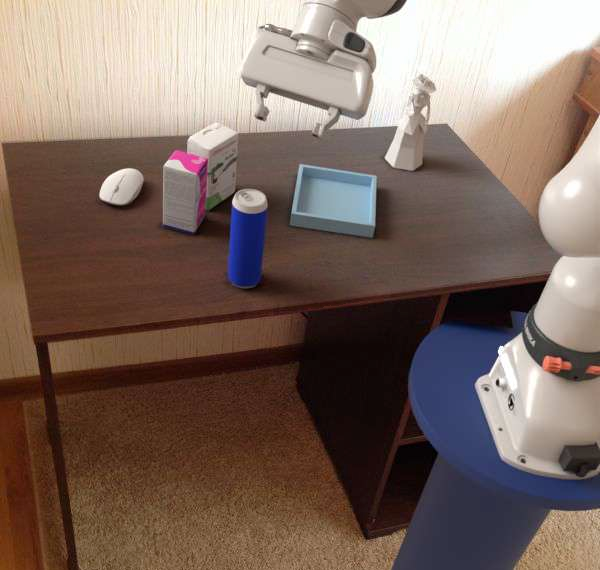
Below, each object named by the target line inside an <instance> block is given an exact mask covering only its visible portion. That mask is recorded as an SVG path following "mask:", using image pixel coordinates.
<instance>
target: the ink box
mask: <svg viewBox="0 0 600 570" xmlns="http://www.w3.org/2000/svg"><path fill="white" fill-rule="evenodd" d="M186 141H187V147H186V148H187V151H186V153H189V154H193V155H197V156H201V157H205V158H208V170H207V187H206V206H205V211H207V212H208V211H210V210H212V209H213V208H214V207H216V206H217V205H219V204H220V203H221V202H223V201H224V200H226V199H227V198H229V197H230V196H231V195H233V194H234V193H236V181H237V180H236V179H237V178H236V177H237V163H238V162H237V160H238V146H239V145H238V144H239V131H236V130H234V129H232V128H230V127H227V126H225V125H223V124H222V123H220V122H213V123H212V124H210V125H208V126H207V127H205V128H203V129H201V130H200V131H198V132H196V133H194V134H192V135H190V136H189V138H188V139H187V140H186Z"/></svg>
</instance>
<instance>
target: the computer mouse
mask: <svg viewBox="0 0 600 570" xmlns="http://www.w3.org/2000/svg"><path fill="white" fill-rule="evenodd" d="M144 181H145V180H144V176H143V174H142V173H141V171H139V170H138V169H135V168H129V167H128V168H127V167H126V168H123V169H119V170H117V171H115V172H113V173H111V174H110V175H108V176H107V177H106V179H105V180H104V181H103V183H102V185H101V188H100V190H99V194H98V195H99V199H100V200H101V201H103V203H106V204H109V205H112V206H118V207H119V206H120V207H121V206H127V205H129V204H131V203H132V202H133V201H134V200H135V199H136V198H137V197H138V196H139V194H140V193H141V190H142V187H143V184H144Z"/></svg>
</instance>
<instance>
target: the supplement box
mask: <svg viewBox="0 0 600 570" xmlns="http://www.w3.org/2000/svg"><path fill="white" fill-rule="evenodd" d="M162 167H163V168H162V169H163V171H162V172H163V173H162V175H163V176H162V177H163V178H162V181H163V182H162V184H163V186H162V228H166V229H169V230H174V231H178V232H181V233H186V234H189V235H195V234H196V232H197V230H198V228H199V227H200V225H201V224H202V222H203V220H204V219H205V218H206V210H205V206H206V187H207V170H208V158H205V157H201V156H197V155H193V154H189V153H187V152H185V151H182V150H178V149H176V150H175V151H174V152H173V153H172V155H171V156H169V158H168V160H167V161H165V163H164V165H163V166H162Z"/></svg>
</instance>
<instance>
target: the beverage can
mask: <svg viewBox="0 0 600 570" xmlns="http://www.w3.org/2000/svg"><path fill="white" fill-rule="evenodd" d="M268 204H269V203H268V200H267V196H266V195H265V193H263V192H262V191H261V190H258V189H253V188H244V189H240V190H238V191H237V192H235V194H234V196H233V198H232V200H231V215H230V217H231V218H230V234H229V249H228V250H229V253H228V268H227V269H228V270H227V277H228V280H229V282H230V283H231V284H232V285H233V286H234V287H237V288H240V289H251V288H254V287H256V285H258V284H259V283H260V281H261V278H262V277H261V276H262V268H263V260H264V259H263V258H264V247H265V238H266V229H267V228H266V227H267V218H268V208H269V207H268V206H269V205H268Z"/></svg>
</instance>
